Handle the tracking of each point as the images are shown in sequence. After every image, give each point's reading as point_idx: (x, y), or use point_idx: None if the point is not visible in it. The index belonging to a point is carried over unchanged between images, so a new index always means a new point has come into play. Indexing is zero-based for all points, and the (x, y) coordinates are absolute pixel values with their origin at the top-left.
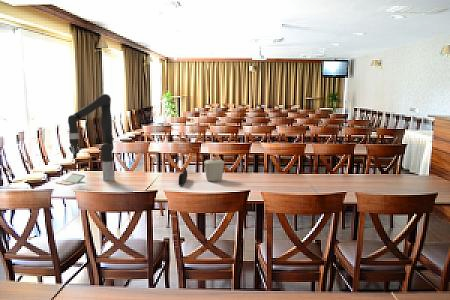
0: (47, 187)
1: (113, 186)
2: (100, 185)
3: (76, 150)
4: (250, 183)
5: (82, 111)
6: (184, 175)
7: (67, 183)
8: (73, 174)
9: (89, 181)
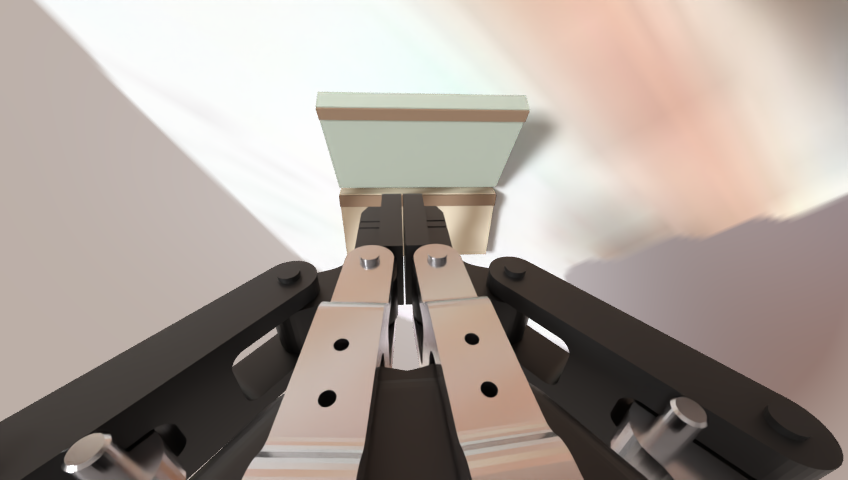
0: (402, 316)
1: (844, 56)
2: (707, 94)
3: (589, 410)
4: None
5: None
6: None
7: (459, 236)
8: (352, 119)
9: (509, 23)
